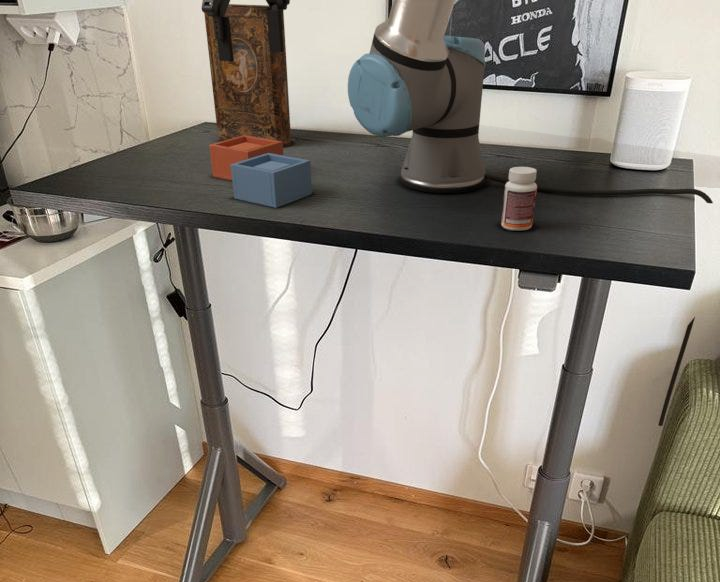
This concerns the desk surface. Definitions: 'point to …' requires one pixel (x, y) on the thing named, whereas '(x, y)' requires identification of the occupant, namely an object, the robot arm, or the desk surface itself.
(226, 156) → the clay bin
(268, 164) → the blue block
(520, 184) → the pill bottle
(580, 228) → the desk surface
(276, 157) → the blue bin
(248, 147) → the clay block
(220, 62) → the book
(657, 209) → the desk surface
